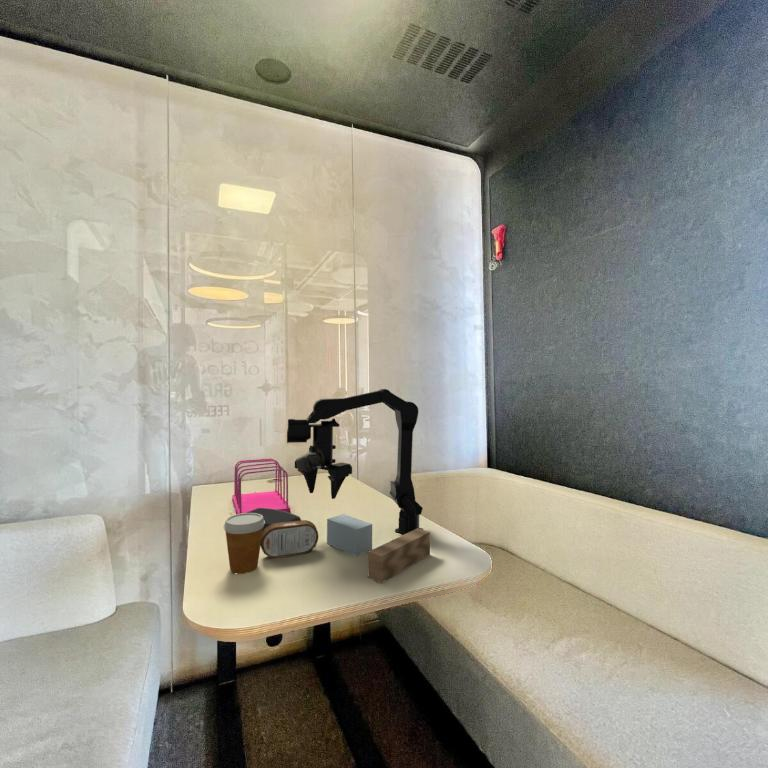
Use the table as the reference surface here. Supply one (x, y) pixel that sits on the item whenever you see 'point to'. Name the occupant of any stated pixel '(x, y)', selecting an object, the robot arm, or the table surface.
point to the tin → (289, 538)
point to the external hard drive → (275, 516)
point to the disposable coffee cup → (244, 541)
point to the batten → (398, 554)
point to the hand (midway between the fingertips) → (322, 495)
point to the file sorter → (260, 499)
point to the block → (349, 534)
